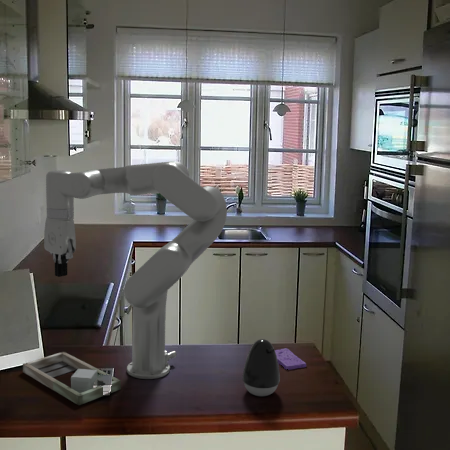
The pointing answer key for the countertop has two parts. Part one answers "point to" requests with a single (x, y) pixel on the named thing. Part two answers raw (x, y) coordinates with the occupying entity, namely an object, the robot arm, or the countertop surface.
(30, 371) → the rectangular open frame tray
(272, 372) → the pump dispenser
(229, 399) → the countertop surface
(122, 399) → the countertop surface
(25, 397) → the countertop surface
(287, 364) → the sponges
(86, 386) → the small box
